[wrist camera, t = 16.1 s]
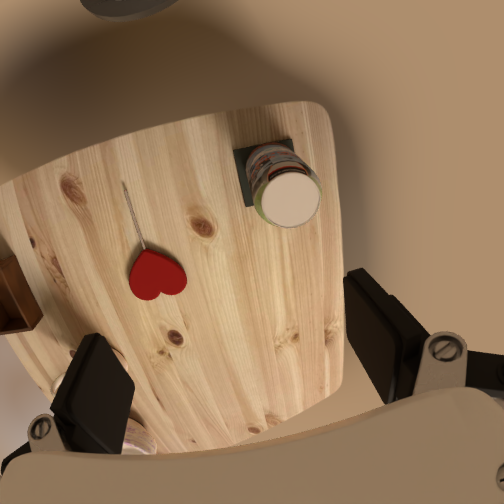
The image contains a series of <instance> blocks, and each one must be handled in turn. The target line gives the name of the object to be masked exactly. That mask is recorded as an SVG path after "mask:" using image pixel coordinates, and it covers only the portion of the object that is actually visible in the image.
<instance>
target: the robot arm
mask: <svg viewBox="0 0 504 504" xmlns="http://www.w3.org/2000/svg"><path fill="white" fill-rule="evenodd" d="M343 286H344V299H345V314H346V333H347V338H348V340H349V342H350V344H351V346H352V348H353V349H354V351H355V353H356V355H357V356H358V358H359V360H360V362H361V363H362V365H363V367H364V369H365V370H366V372H367V374H368V376H369V378H370V379H371V381H372V383H373V385H374V386H375V388H376V390H377V392H378V393H379V395H380V397H381V399H382V401H383V402H384V404H385V405H384V406H382V407H379V408H376V409H374V410H371V411H368V412H366V413H362V414H360V415H357V416H354V417H351V418H348V419H345V420H342V421H338V422H335V423H332V424H329V425H326V426H322V427H319V428H315V429H312V430H308V431H304V432H301V433H297V434H293V435H289V436H285V437H280V438H276V439H272V440H267V441H262V442H257V443H251V444H246V445H240V446H234V447H228V448H221V449H213V450H205V451H195V452H184V453H170V454H146V455H121V453H122V448H123V442H124V437H125V432H126V427H127V422H128V417H129V413H130V408H131V404H132V399H133V395H134V391H135V385H134V382H133V380H132V379H131V377H130V376H129V374H128V373H127V372H126V370H125V369H124V367H123V366H122V364H121V362H120V361H119V359H118V358H117V356H116V355H115V353H114V351H113V350H112V348H111V347H110V345H109V343H108V342H107V340H106V338H105V337H104V336H101V335H100V334H99V333H93V334H88V335H85V336H84V338H83V340H82V342H81V343H80V345H79V347H78V349H77V351H76V353H75V355H74V357H73V359H72V361H71V363H70V365H69V367H68V369H67V371H66V374H65V376H64V378H63V380H62V382H61V384H60V386H59V389H58V391H57V393H56V395H55V398H54V400H53V402H52V404H51V407H50V410H51V411H52V412H53V413H54V417H52V416H51V415H49V414H41V415H39V416H37V417H36V418H35V419H34V420H33V421H32V422H31V423H30V425H29V427H28V439H29V441H28V442H27V443H25V444H24V445H22V446H21V447H20V448H18V449H17V450H16V451H14V452H13V453H11V454H10V455H9V456H7V457H6V458H5V459H4V460H3V462H2V466H1V474H2V476H0V504H504V355H497V354H490V353H483V352H476V351H469V350H467V344H466V342H465V341H464V339H462V337H460V336H459V335H457V334H455V333H452V332H438V333H434V334H433V335H430V334H429V333H428V332H427V331H426V330H425V329H424V328H423V326H422V325H421V324H420V323H419V322H418V321H417V320H416V319H415V318H414V316H413V315H412V314H411V313H410V312H409V311H408V310H407V309H406V308H405V307H404V306H403V305H402V304H401V303H400V301H399V300H397V298H396V297H395V296H393V295H388V293H386V292H385V290H384V289H383V288H382V287H381V286H380V285H379V284H378V283H377V282H376V281H375V280H374V279H373V278H372V277H371V276H370V275H369V274H368V273H367V272H366V271H365V269H363V268H359V269H356V270H352V271H349V272H348V273H347V276H346V277H344V278H343Z"/></svg>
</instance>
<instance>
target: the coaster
mask: <svg viewBox="0 0 504 504" xmlns="http://www.w3.org/2000/svg"><path fill="white" fill-rule="evenodd" d="M277 143H281V144H283V145H286V146H287V147H289V148H290V149H291V150H292V151H293V152H294V147H293V142H292V139H288V140H282V141H277ZM261 145H262V144H261ZM258 146H260V145H256V146H251V147H246V148H242V149H237V150H233V152H234V156H235V161H236V165H237V170H238V174H239V179H240V183H241V188H242V192H243V197H244V201H245V206H246V207H249V206H253V205H254V203H253V199H252V195H251V191H250V187H249V183H248V179H247V174H246V162H247V159H248V157H249V155H250V153H251V152H252V151H253V150H254V149H255V148H256V147H258Z"/></svg>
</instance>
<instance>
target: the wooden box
mask: <svg viewBox="0 0 504 504" xmlns="http://www.w3.org/2000/svg"><path fill="white" fill-rule="evenodd" d="M43 316H44V315H43V313H42V311H41V309H40V307H39V306H38V304H37V302H36V300H35V298H34V296H33V294H32V292H31V290H30V288H29V285H28V283H27V281H26V279H25V277H24V275H23V272H22V270H21V268H20V265H19V263H18V261H17V258H16V256H15V255H13V256H11V257H8V258H6V259H3V260H1V261H0V335H5V334H12V333H19V332H25V331H32V330H33V329H34V328H35V327H36V325H37V324H38V323H39V321H40V320H41V319H42V317H43Z"/></svg>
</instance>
